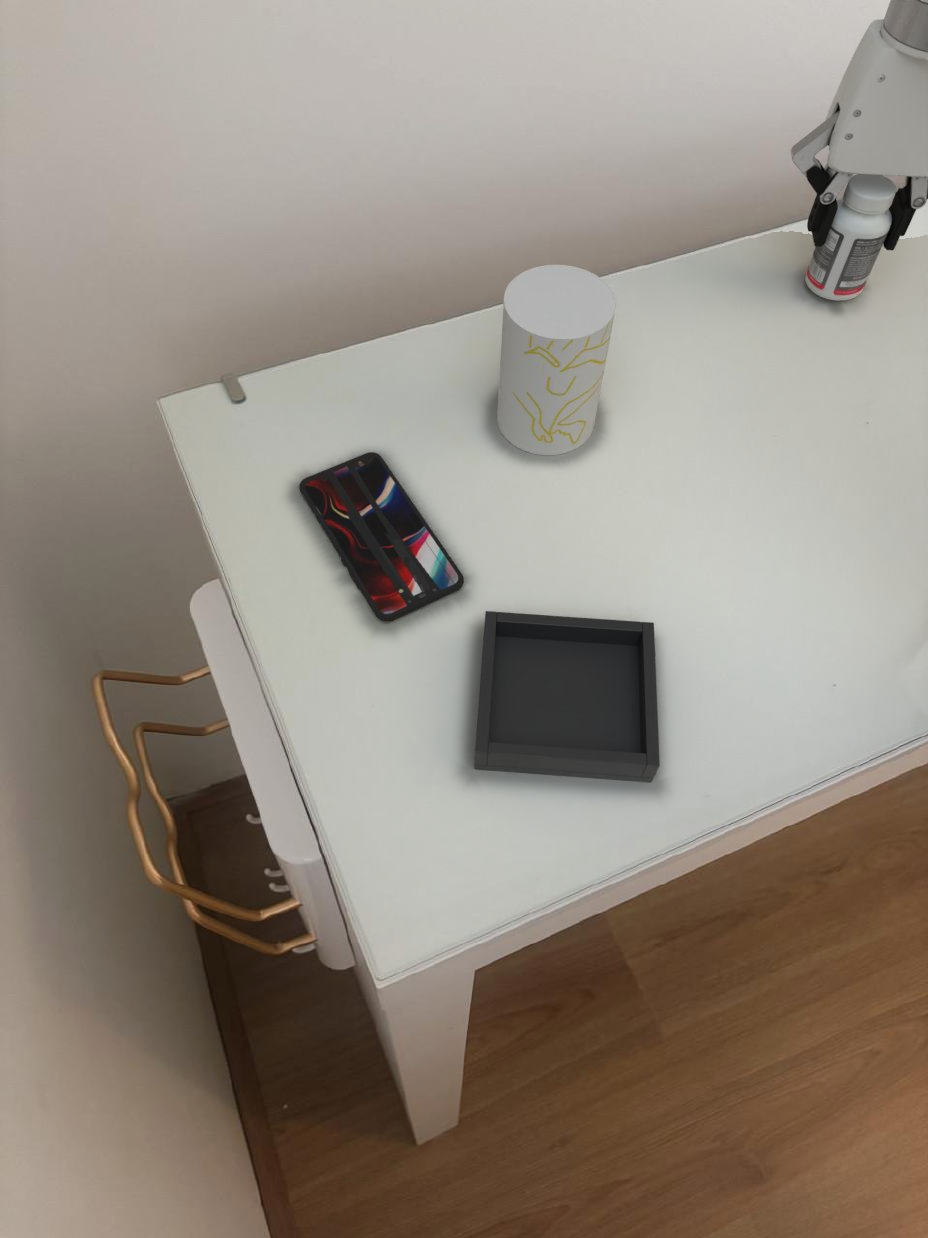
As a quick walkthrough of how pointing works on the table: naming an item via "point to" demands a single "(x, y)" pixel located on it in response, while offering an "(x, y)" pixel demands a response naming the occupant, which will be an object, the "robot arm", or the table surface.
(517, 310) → the cup
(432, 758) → the table surface
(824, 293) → the pill bottle
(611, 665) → the tray
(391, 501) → the smartphone
